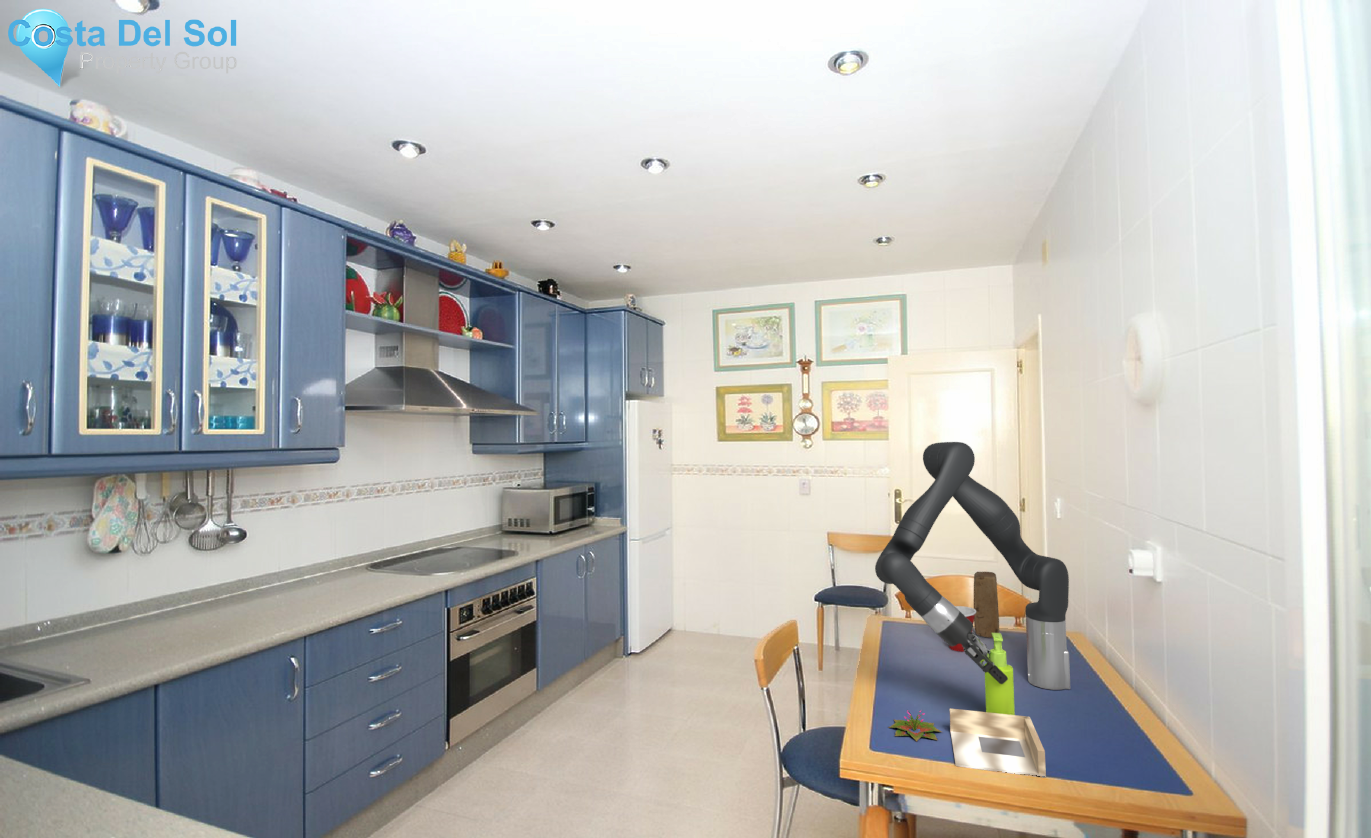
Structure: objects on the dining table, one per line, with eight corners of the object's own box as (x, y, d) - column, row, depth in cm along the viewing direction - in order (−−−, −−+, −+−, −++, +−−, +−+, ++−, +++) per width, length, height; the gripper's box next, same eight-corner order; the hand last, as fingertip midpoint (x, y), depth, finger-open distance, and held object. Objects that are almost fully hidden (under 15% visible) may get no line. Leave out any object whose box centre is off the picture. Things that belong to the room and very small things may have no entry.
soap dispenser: (1012, 719, 150) (1009, 631, 150) (1017, 732, 143) (1013, 640, 144) (984, 716, 152) (981, 629, 152) (987, 728, 145) (984, 638, 146)
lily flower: (887, 741, 141) (886, 720, 141) (886, 718, 153) (885, 698, 153) (946, 747, 138) (945, 725, 138) (941, 723, 149) (940, 703, 149)
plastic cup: (935, 642, 205) (934, 604, 206) (971, 643, 204) (970, 605, 204) (944, 654, 195) (943, 613, 195) (982, 655, 193) (981, 614, 194)
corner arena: (1030, 740, 139) (1029, 716, 139) (1045, 777, 124) (1044, 751, 124) (950, 731, 144) (949, 708, 145) (955, 766, 129) (954, 740, 129)
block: (999, 640, 207) (997, 577, 207) (974, 637, 210) (971, 575, 210) (999, 630, 216) (997, 570, 217) (975, 628, 220) (973, 568, 220)
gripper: (960, 618, 144) (1019, 675, 140) (956, 602, 158) (1009, 653, 154) (935, 640, 146) (993, 697, 142) (933, 622, 159) (986, 674, 155)
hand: (1002, 674), depth 148 cm, fingers open, 8 cm apart
